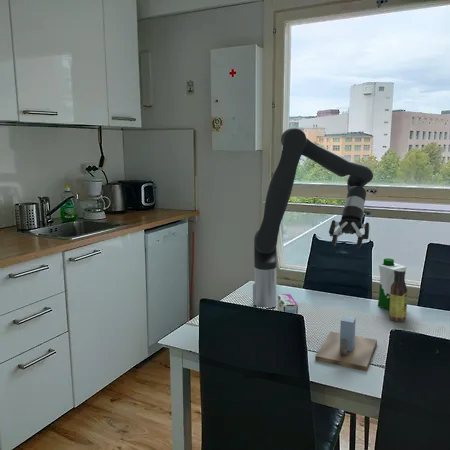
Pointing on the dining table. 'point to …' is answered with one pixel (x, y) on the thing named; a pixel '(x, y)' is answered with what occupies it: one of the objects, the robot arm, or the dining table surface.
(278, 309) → the candy bar box
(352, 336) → the block
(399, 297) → the sauce bottle
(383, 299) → the milk carton
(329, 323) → the dining table surface
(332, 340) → the wooden peg board
